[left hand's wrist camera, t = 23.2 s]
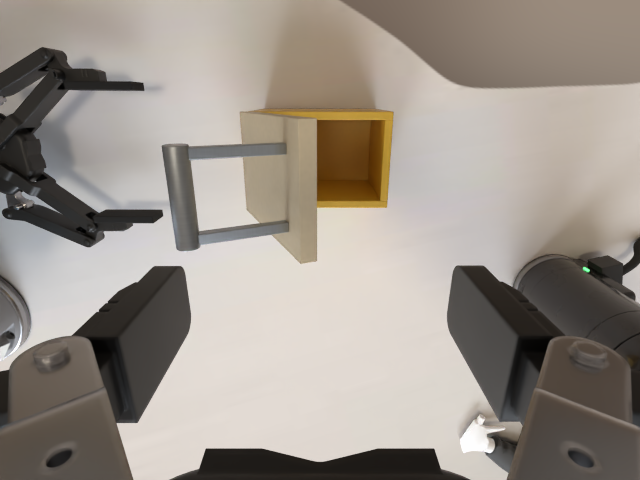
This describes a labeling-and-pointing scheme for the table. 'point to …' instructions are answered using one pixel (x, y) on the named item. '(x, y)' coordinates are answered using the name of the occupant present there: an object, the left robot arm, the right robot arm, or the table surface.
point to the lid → (255, 184)
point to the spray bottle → (488, 443)
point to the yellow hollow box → (350, 155)
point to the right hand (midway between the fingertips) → (148, 155)
